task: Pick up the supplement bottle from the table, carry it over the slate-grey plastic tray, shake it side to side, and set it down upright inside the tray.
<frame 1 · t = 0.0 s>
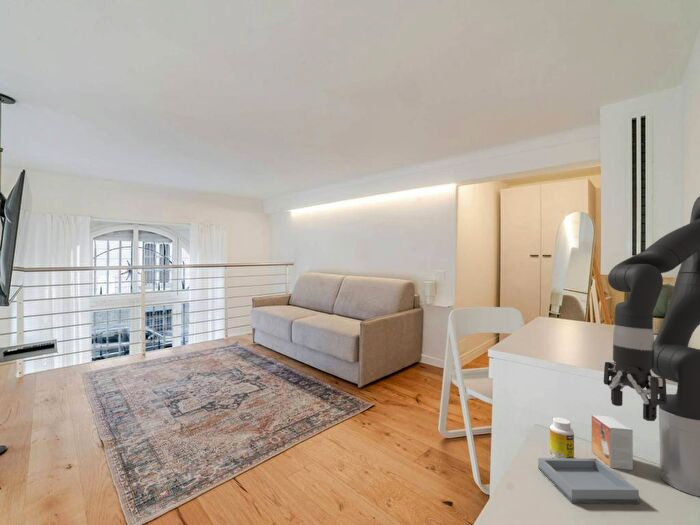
hand: (632, 412, 77), 17 cm above the table, tool pointing down, fingers open, 8 cm apart
small box: (611, 461, 86), on the table
slate tray: (584, 485, 76), on the table
supplement bottle: (561, 458, 87), on the table
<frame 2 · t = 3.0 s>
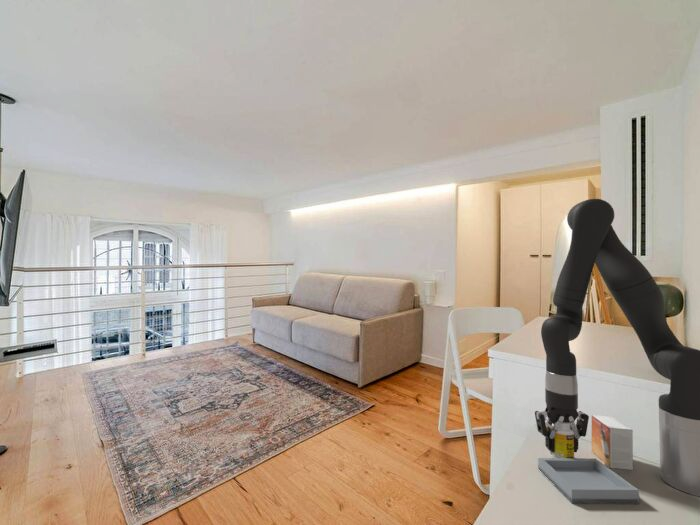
hand: (561, 450, 87), 2 cm above the table, tool pointing down, fingers closed on supplement bottle, 5 cm apart
supplement bottle: (561, 458, 87), on the table, touching gripper
everything else where it was.
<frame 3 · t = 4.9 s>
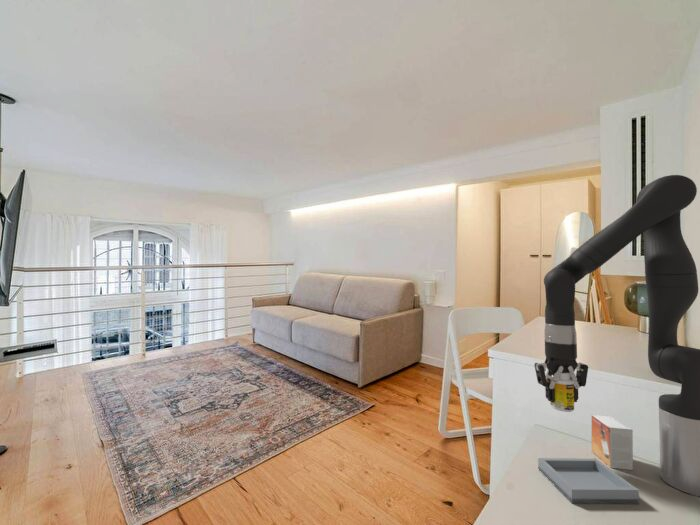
hand: (561, 401, 88), 15 cm above the table, tool pointing down, fingers closed on supplement bottle, 5 cm apart
supplement bottle: (562, 409, 88), point 13 cm above the table, touching gripper
everything else where it was.
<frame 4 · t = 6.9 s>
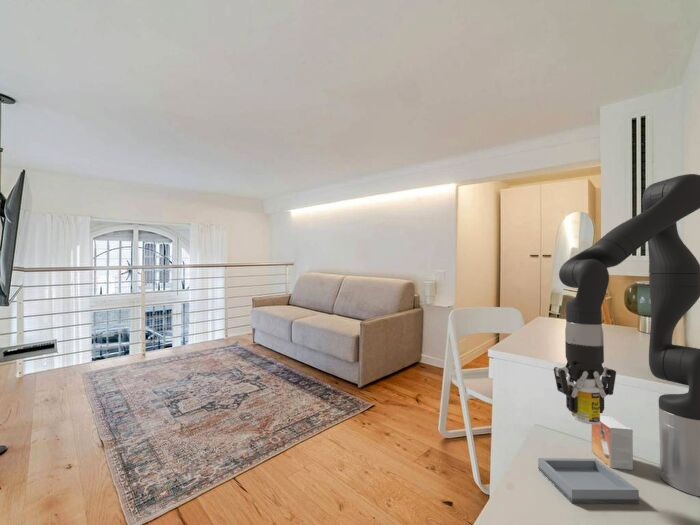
hand: (585, 411, 76), 17 cm above the table, tool pointing down, fingers closed on supplement bottle, 5 cm apart
supplement bottle: (585, 421, 76), point 15 cm above the table, touching gripper
everything else where it was.
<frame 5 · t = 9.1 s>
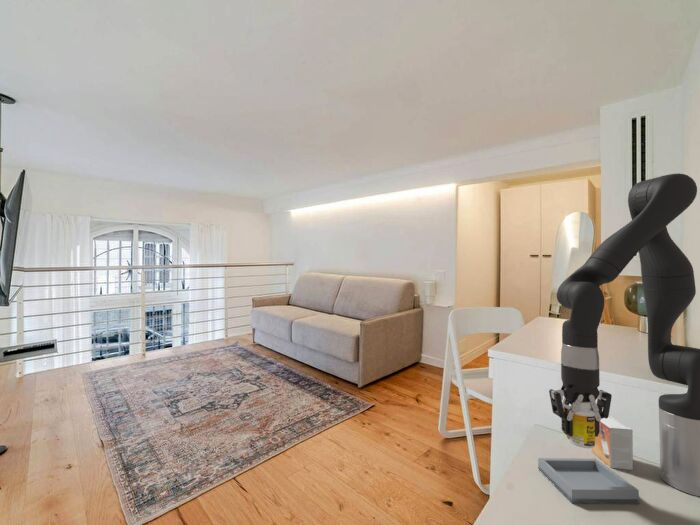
hand: (580, 434, 76), 12 cm above the table, tool pointing down, fingers closed on supplement bottle, 5 cm apart
supplement bottle: (580, 444, 76), point 10 cm above the table, touching gripper
everything else where it was.
when the fingers open (4 cm above the table, at t = 10.9 s): supplement bottle drops 1 cm, resting on slate tray.
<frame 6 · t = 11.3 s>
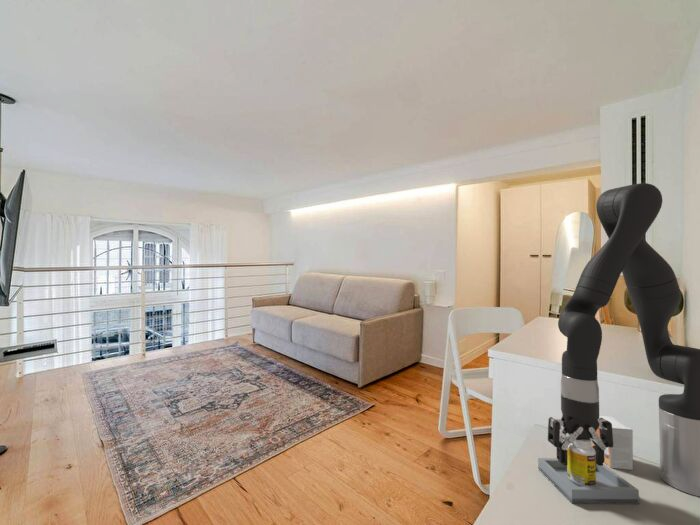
hand: (580, 463, 76), 5 cm above the table, tool pointing down, fingers open, 8 cm apart
supplement bottle: (581, 482, 76), point 1 cm above the table, touching slate tray
everything else where it was.
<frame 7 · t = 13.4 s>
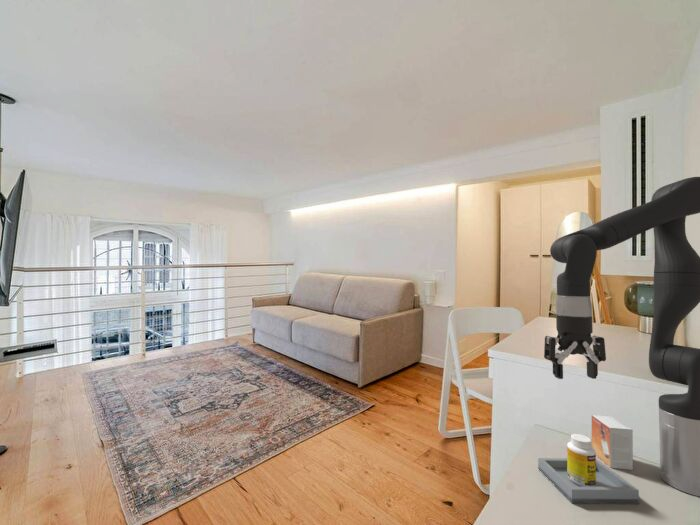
hand: (575, 377, 80), 24 cm above the table, tool pointing down, fingers open, 8 cm apart
nothing on the table moved.
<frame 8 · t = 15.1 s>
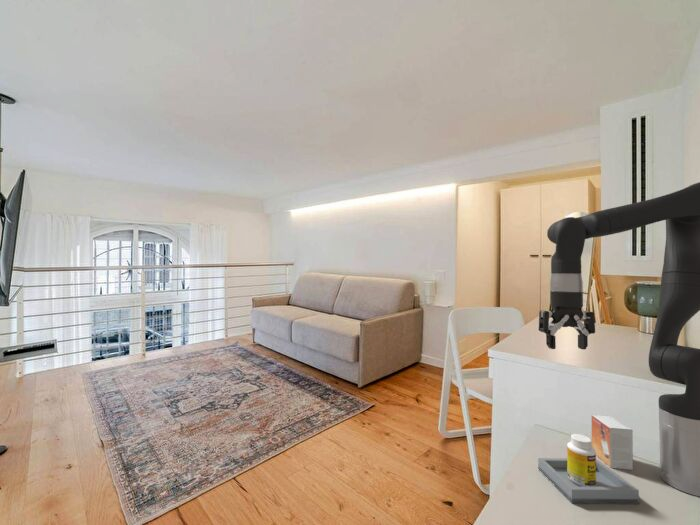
hand: (566, 348, 87), 30 cm above the table, tool pointing down, fingers open, 8 cm apart
nothing on the table moved.
at the end: supplement bottle inside the target area on the slate tray (0.8 cm from its centre), point 0.8 cm above the slate tray's base; supplement bottle tilted 0°; the gripper is holding nothing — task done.
